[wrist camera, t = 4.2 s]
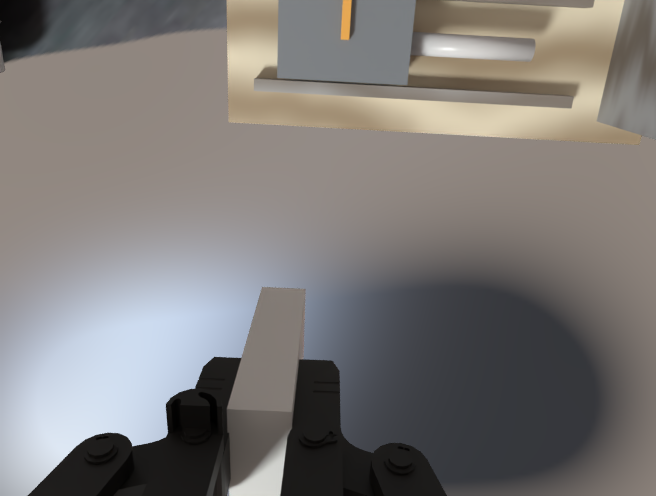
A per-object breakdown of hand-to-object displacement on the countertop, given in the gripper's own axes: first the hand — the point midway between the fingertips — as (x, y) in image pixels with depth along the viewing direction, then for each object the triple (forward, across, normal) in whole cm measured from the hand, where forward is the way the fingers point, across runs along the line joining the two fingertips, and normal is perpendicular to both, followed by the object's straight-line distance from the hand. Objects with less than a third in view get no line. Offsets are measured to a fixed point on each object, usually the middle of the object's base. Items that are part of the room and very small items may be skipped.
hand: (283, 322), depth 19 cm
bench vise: (+24, +9, +9) cm, 27 cm away
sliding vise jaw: (+22, +6, +11) cm, 26 cm away
